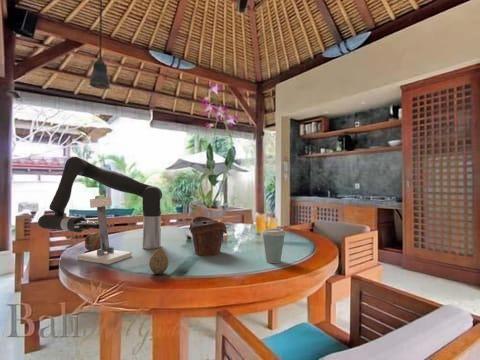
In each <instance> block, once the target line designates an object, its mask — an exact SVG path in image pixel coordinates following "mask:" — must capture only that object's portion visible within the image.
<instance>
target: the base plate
mask: <svg viewBox="0 0 480 360" xmlns="http://www.w3.org/2000/svg"><path fill="white" fill-rule="evenodd" d="M114 248H115V247H113V246H109V250H110V251H108V252H104V250H101V248H97V249H95V250H91V251H89V252H85V253H80V254H77V260H79V261H86V262H91V263H98V264H103V265H110V264H113V263H116V262H119V261H122V260H126V259H127V258H132V251H125V250H116V249H114Z"/></svg>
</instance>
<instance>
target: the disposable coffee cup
mask: <svg viewBox="0 0 480 360" xmlns="http://www.w3.org/2000/svg"><path fill="white" fill-rule="evenodd" d="M261 232H262V233H261V234H262V239H263V247H264V255H265V260H266V262H267V263H269V264H279V263H280V262H281V260H282V254H283V246H284V241H285V236H286V233H285V230H284V229H283V228H280V227H279V228H277V227H274V228H266V229H263V231H261Z"/></svg>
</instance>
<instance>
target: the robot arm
mask: <svg viewBox="0 0 480 360" xmlns="http://www.w3.org/2000/svg"><path fill="white" fill-rule="evenodd" d="M78 176H79V177H83V178H87V179H92V180H93V181H96V182H98V183H99V184H101V185H103V186H105V187H106V188H110V189H113V190H115V191H118V192H122V193H127V194H131V195H136V196H138V197H140V198H142V213H143V214H142V216H143V219H142V249H145V250H146V249H147V250H152V249H159V248H160V249H161V246H162V245H161V244H162V241H161V240H162V228H161V227H162V226H161V225H162V224H161V223H162V218H161V217H162V211H161V199H162V197H163V192H162V190H161V189H160V188H159V187H157V186H154V185H150V184H147V183H146V184H145V183H142V182H140V181H138V180H136V179H134V178H132V177H129V176H128V175H125V174H122V173H120V172H117V171H115V170H111V169H107V168H103V167H101V166H100V167H99V166H97V165H94V164H92V163H90V162H89V161H87V160H85V159H84V158H81V157H80V156H71V157H69V158H67V159H66V162H65V165H64V168H63V172H62V175H61V179H60V181H59V184H58V188H57V189H56V192H55V194H54V195H53V198H52V200H51V202H50V203H49V204H50V205H49V210H50V211H53V212H54V214H43V215H41V216H40V217H39V218H38V220H37V224H38V226H39V227H40V229H45V230H58V231H65V232H72V233H82V232H83V231H85V230H92V229H94V230H95V229H96V230H99V224H98V220H95V221H92V220H86V218H85V217H83V216H75V215H73V216H71V215H69V216H65V211H66V208H67V206H68V203H69V201H70V199H71V195H72V189H73V185H74V182H75V181H76V179H77V177H78Z"/></svg>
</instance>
